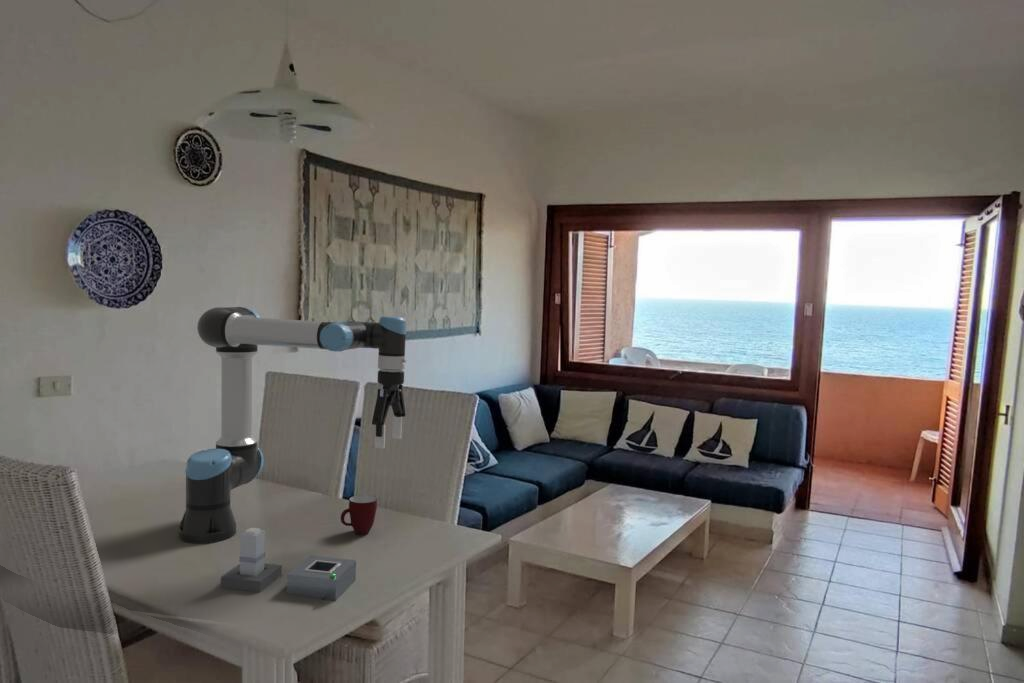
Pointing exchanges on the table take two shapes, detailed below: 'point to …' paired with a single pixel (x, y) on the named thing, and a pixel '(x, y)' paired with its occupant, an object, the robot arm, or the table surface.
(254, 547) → the plug
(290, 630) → the table surface
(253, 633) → the table surface
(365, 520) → the mug
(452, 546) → the table surface
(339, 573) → the port
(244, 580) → the holster
